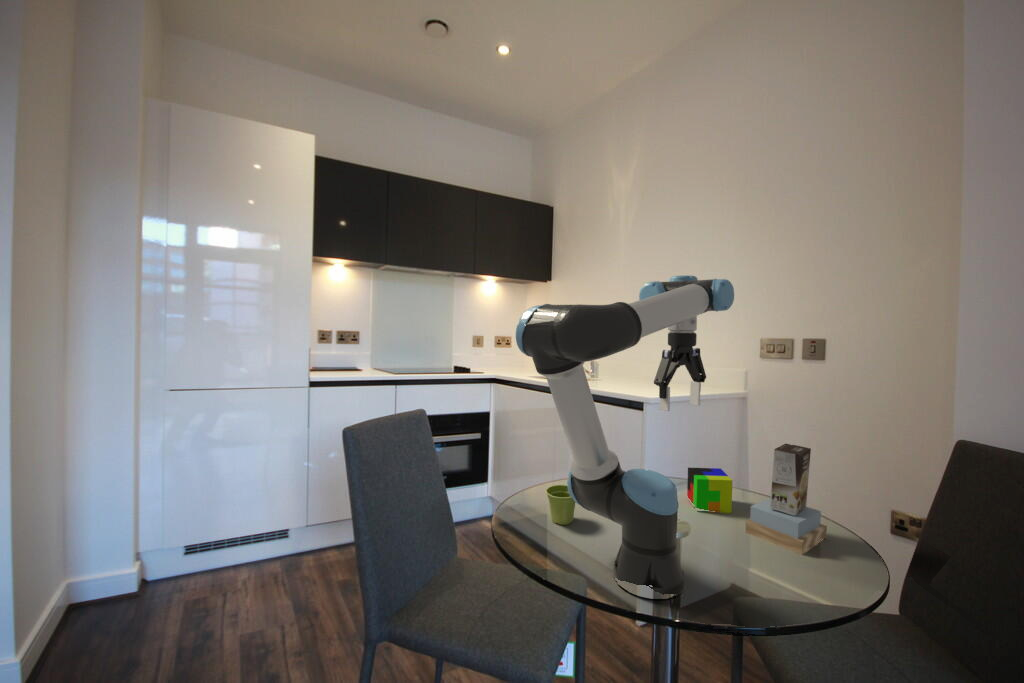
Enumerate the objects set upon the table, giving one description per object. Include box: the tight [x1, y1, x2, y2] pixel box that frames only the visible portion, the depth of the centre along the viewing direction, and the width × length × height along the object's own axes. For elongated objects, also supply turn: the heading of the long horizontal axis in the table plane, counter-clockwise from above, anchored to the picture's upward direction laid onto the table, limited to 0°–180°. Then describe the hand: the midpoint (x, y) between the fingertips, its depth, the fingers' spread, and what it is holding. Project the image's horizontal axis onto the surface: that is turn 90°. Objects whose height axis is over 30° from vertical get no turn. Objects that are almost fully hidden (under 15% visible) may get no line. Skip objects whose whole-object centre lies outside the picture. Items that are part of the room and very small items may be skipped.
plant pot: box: [545, 484, 576, 526], centre depth 133 cm, size 9×9×9 cm
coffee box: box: [770, 443, 812, 516], centre depth 123 cm, size 9×6×16 cm
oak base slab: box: [745, 518, 828, 556], centre depth 124 cm, size 14×14×4 cm
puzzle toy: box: [686, 467, 734, 514], centre depth 143 cm, size 10×10×10 cm
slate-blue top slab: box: [749, 496, 822, 539], centre depth 124 cm, size 12×12×4 cm
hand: (680, 407), depth 131 cm, fingers open, 13 cm apart
